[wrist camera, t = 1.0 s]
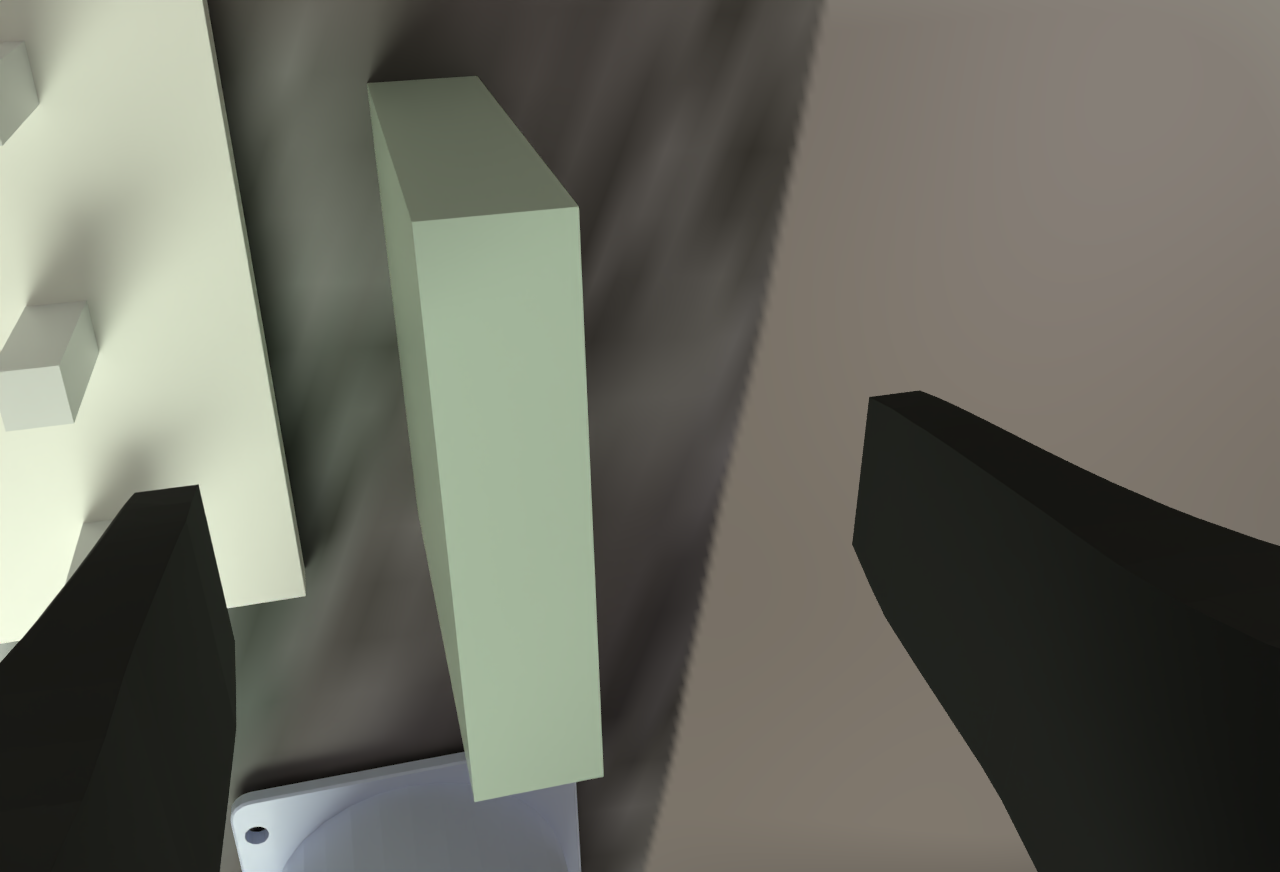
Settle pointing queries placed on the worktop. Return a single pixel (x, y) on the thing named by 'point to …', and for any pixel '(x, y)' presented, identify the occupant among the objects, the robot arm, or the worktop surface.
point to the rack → (127, 302)
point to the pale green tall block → (495, 424)
